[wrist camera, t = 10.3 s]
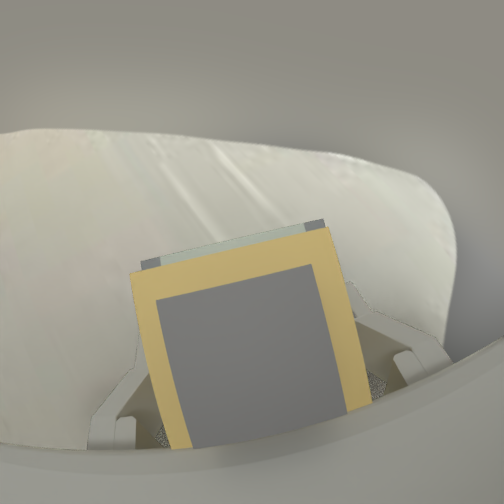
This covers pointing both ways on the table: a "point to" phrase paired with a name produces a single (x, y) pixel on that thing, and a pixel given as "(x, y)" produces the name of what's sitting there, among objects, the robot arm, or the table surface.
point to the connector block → (250, 341)
